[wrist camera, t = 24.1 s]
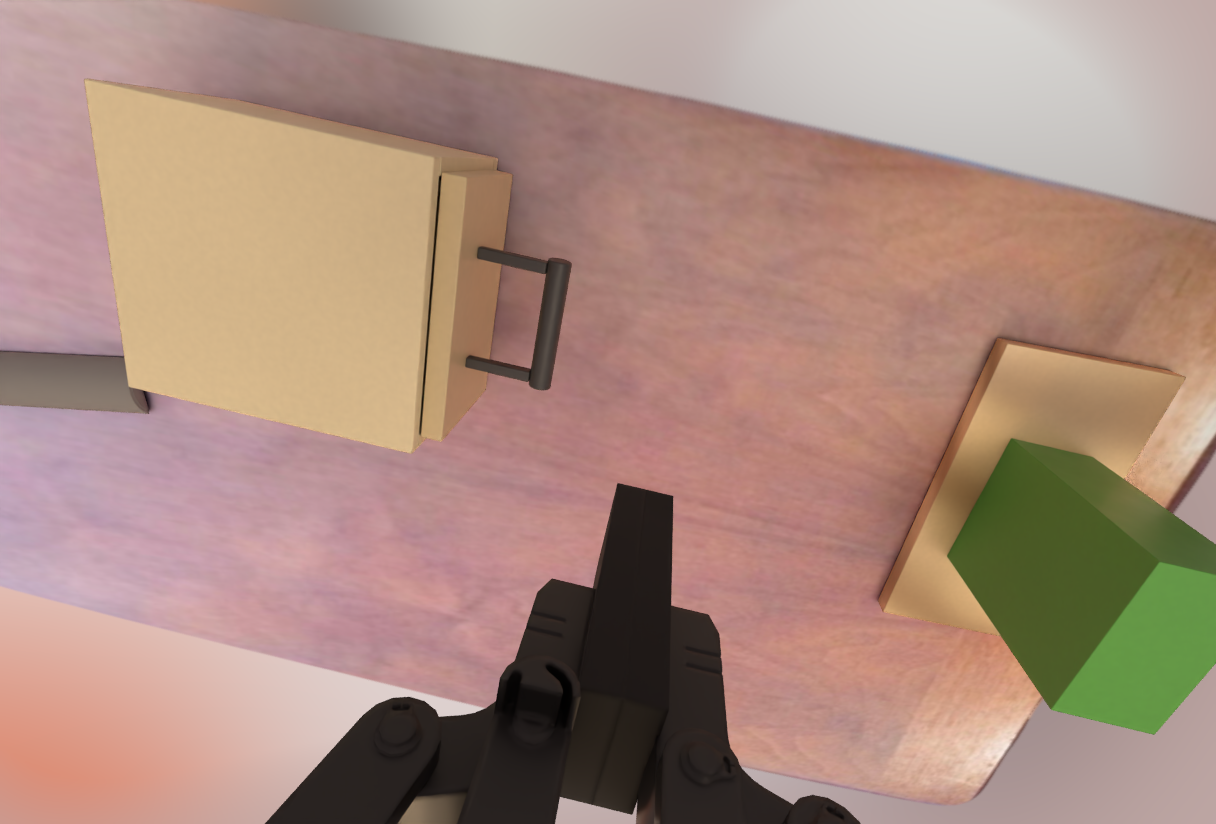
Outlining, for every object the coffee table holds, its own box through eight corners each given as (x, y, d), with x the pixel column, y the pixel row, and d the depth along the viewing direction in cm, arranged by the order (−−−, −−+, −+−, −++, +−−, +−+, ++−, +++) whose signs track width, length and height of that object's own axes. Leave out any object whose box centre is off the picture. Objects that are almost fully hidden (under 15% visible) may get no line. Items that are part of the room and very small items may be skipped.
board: (997, 337, 34) (1007, 343, 33) (1170, 370, 34) (1186, 377, 33) (877, 600, 42) (882, 612, 41) (1016, 629, 42) (1025, 642, 41)
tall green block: (1093, 456, 35) (1280, 589, 24) (1020, 573, 39) (1154, 735, 28) (1010, 437, 35) (1160, 561, 24) (946, 556, 39) (1050, 710, 28)
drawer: (596, 192, 33) (573, 201, 26) (557, 407, 38) (529, 463, 31) (265, 118, 33) (152, 106, 26) (273, 340, 39) (181, 381, 32)
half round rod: (160, 412, 43) (140, 422, 41) (-73, 399, 45) (-102, 408, 43) (143, 357, 41) (121, 365, 40) (-99, 345, 43) (-130, 353, 42)
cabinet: (498, 158, 34) (434, 156, 25) (471, 389, 39) (412, 454, 31) (237, 99, 34) (82, 77, 25) (249, 337, 40) (127, 387, 31)
